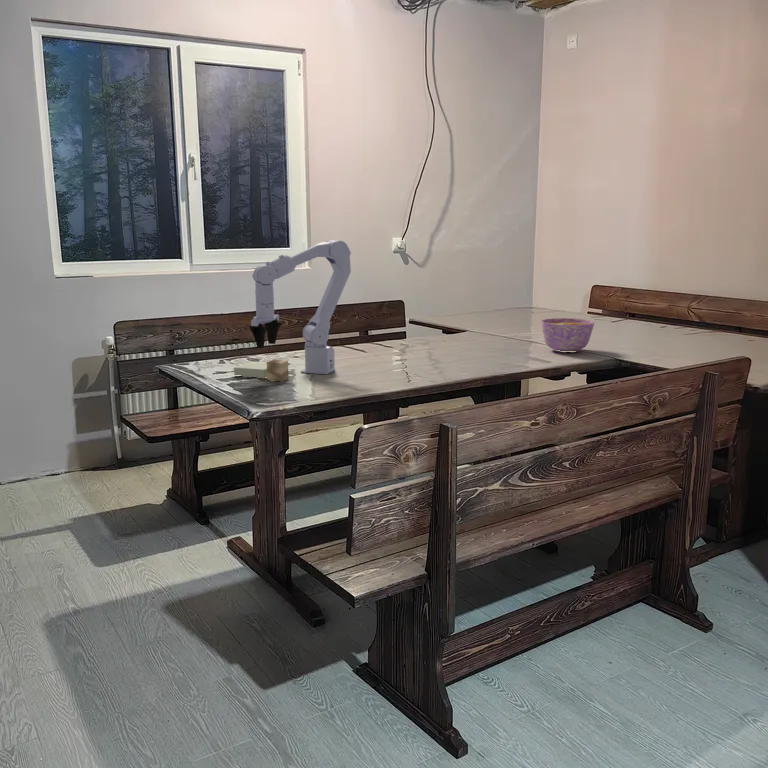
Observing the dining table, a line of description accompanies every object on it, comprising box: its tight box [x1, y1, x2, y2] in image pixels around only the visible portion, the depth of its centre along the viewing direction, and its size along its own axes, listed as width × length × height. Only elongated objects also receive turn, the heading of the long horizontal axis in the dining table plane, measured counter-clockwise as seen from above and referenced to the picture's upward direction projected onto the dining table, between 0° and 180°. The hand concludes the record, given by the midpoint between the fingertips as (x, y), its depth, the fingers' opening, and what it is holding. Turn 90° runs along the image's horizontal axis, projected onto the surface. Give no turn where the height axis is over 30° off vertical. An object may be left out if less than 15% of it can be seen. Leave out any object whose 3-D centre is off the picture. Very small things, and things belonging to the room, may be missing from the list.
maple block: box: [266, 359, 289, 383], centre depth 244 cm, size 5×5×6 cm
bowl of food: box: [540, 317, 595, 352], centre depth 295 cm, size 20×20×12 cm
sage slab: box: [233, 361, 267, 378], centre depth 252 cm, size 11×11×3 cm
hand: (266, 345), depth 249 cm, fingers open, 7 cm apart
